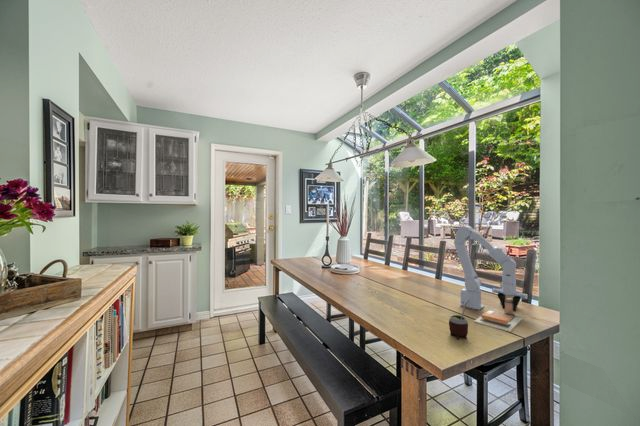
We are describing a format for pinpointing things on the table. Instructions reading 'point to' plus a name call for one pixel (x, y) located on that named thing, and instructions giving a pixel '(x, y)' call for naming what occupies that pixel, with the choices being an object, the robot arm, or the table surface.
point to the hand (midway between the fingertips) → (509, 309)
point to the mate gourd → (458, 325)
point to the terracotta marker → (509, 306)
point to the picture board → (507, 327)
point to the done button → (495, 318)
